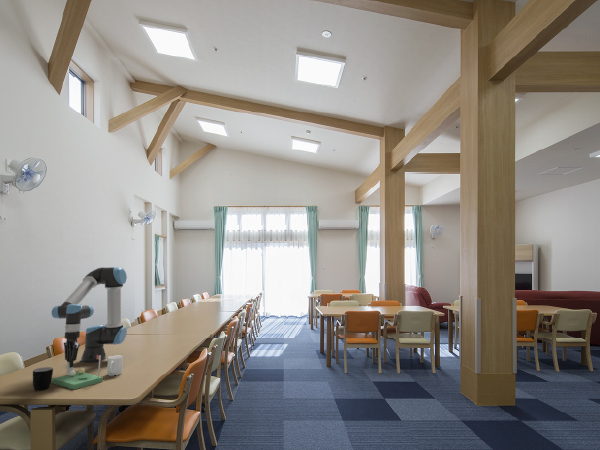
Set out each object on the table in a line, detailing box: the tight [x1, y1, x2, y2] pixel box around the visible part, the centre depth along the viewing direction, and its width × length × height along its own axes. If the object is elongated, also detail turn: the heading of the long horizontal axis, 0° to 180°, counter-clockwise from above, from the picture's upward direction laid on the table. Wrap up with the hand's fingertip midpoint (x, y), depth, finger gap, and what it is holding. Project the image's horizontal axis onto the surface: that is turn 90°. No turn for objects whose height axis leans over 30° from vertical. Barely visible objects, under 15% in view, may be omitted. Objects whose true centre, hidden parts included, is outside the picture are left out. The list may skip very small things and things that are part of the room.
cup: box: [106, 354, 124, 377], centre depth 227 cm, size 8×12×10 cm
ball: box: [68, 369, 77, 376], centre depth 215 cm, size 3×3×3 cm
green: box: [51, 355, 104, 391], centre depth 212 cm, size 22×16×14 cm
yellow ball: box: [77, 367, 86, 374], centre depth 220 cm, size 3×3×3 cm
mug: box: [32, 366, 54, 392], centre depth 200 cm, size 12×9×10 cm
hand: (69, 373), depth 216 cm, fingers closed
